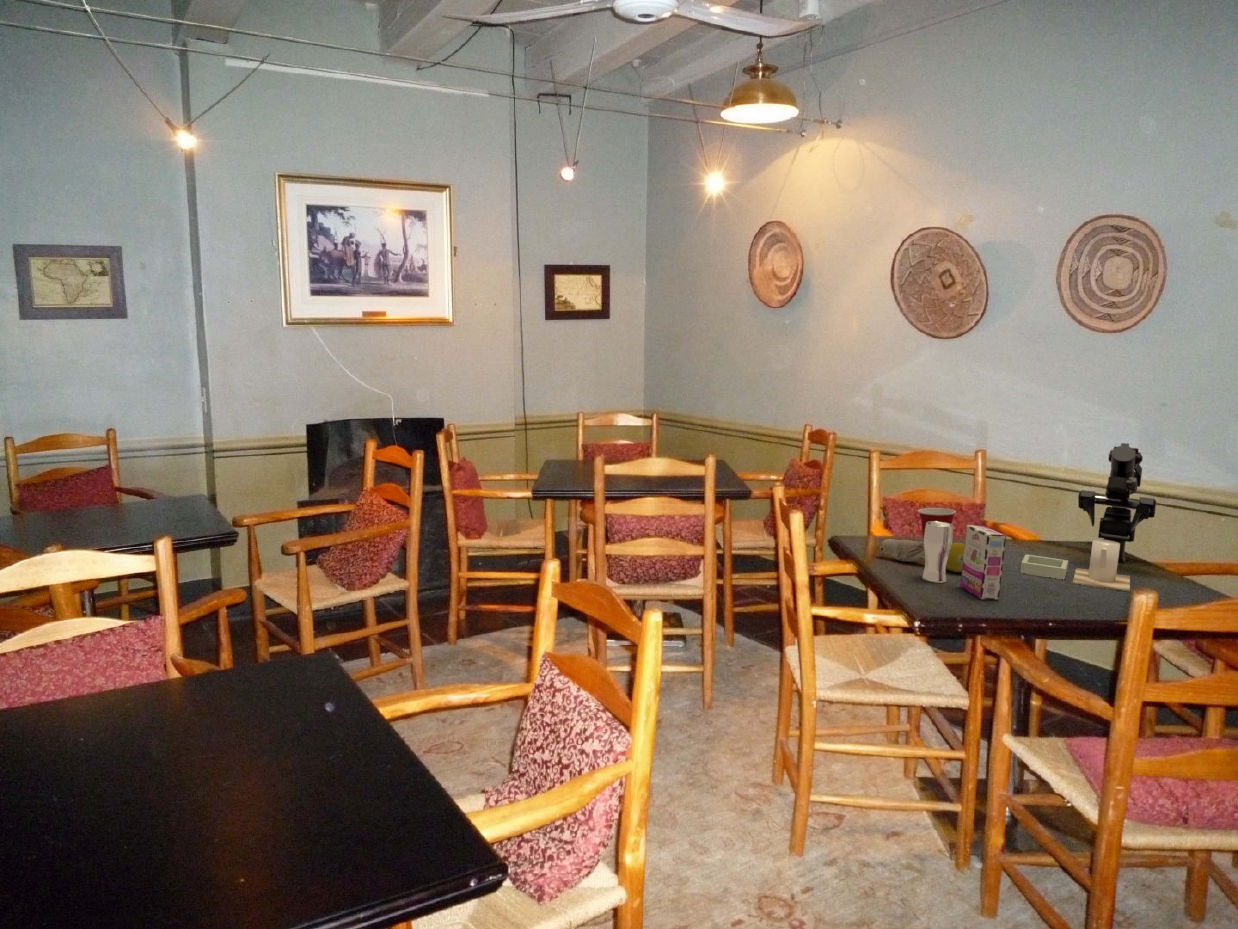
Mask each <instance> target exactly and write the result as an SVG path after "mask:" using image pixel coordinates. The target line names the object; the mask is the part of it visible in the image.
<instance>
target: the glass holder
mask: <svg viewBox="0 0 1238 929" xmlns="http://www.w3.org/2000/svg"><path fill="white" fill-rule="evenodd" d="M1068 566H1069V560H1066V559H1062V558H1061V559H1060V558H1054V557H1053V558H1052V557H1049V556H1048V557H1047V556H1039V555H1033V554H1025V555H1024V556H1023V558H1022V561H1021V565H1020V574H1023V573H1025V574H1024V575H1031V576H1036V577H1045V578H1049V577H1051V578H1050V579H1055V578H1056V580H1062V579H1063V581H1065V580H1064V579H1066V575H1067V573H1066V572H1068Z"/></svg>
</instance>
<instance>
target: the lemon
mask: <svg viewBox="0 0 1238 929" xmlns="http://www.w3.org/2000/svg"><path fill="white" fill-rule="evenodd" d="M964 547H965V543H962V542H952V546H951V551H950V554H949V558H948V561H947V565H946V571H947V570H948V571H950V572H952V573H962V566H963V557H964Z"/></svg>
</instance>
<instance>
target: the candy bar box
mask: <svg viewBox="0 0 1238 929" xmlns="http://www.w3.org/2000/svg"><path fill="white" fill-rule="evenodd" d="M965 530H966V531H965V540H964V544H965V547H964V557H963V566H962V572H961V577H960V578H961V579H960V587H961V588H962V589H963V590H964V591H966V592H968V593H969V594H971V595H973V596H975V597H976V598H978V599H980V600H983V601H985V600H986V601H999V600H1000V592H1001V586H1002V585H1001V584H1002V574H1003V565H1004V558H1005V548H1006V539H1007V535H1006V534H1004V533H1001V532H999V531H996V530H994V529H992V528H990V527H988V526H985V525H980V524H979V525H975V524H974V525H972V524H971V525H970V524H967V525H966V529H965Z"/></svg>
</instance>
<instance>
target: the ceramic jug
mask: <svg viewBox="0 0 1238 929" xmlns="http://www.w3.org/2000/svg"><path fill="white" fill-rule="evenodd" d="M1119 549H1120V543H1118V542H1115V541H1110V540H1103V539H1102V538H1098V539H1097V538H1095V539H1093V540H1092V543H1091V551H1090V552H1091V554H1090V558H1089V560H1090V561H1089V568H1088V570H1089V575H1088V577H1089V578H1090V579H1093V580H1097V581H1102V582H1115V581H1116V574H1118V573H1117V570H1118V565H1119V562H1118V557H1119Z"/></svg>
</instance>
